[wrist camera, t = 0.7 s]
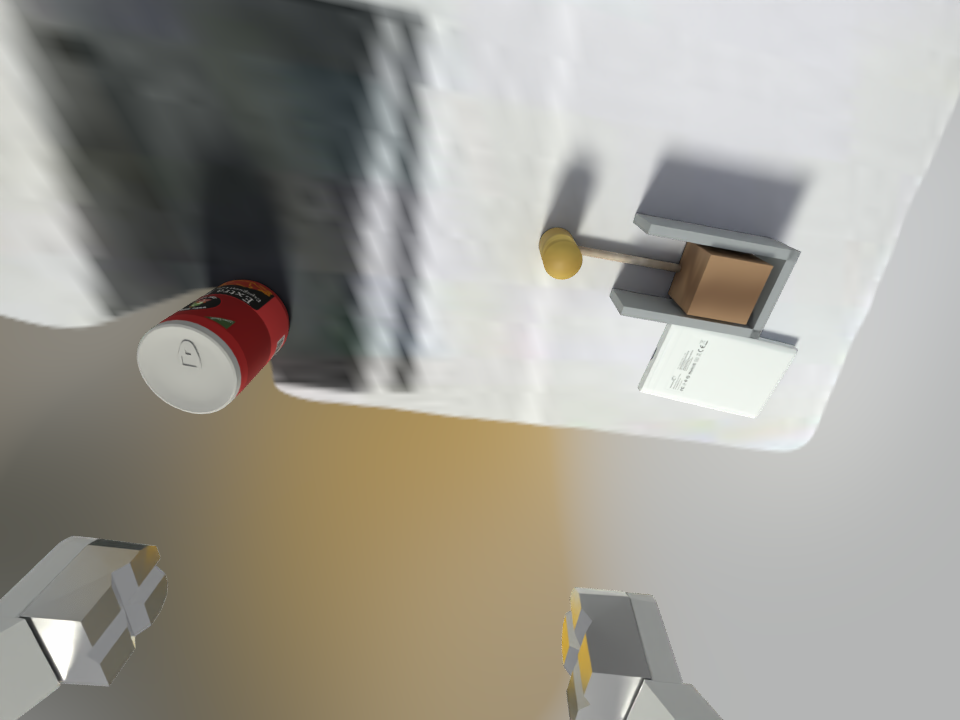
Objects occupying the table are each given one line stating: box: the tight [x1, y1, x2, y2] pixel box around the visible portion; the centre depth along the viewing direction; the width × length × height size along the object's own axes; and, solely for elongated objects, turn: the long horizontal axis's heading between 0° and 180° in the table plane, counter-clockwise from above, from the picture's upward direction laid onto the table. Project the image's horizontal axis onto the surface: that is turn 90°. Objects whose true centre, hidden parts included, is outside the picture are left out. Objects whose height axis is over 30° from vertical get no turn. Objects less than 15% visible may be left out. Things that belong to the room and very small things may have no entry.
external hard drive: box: [638, 323, 798, 418], centre depth 47 cm, size 2×8×12 cm
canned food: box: [137, 280, 289, 414], centre depth 41 cm, size 8×8×11 cm
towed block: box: [539, 228, 773, 325], centre depth 40 cm, size 5×18×5 cm, turn 80°
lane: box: [610, 213, 801, 339], centre depth 40 cm, size 8×12×4 cm, turn 80°
